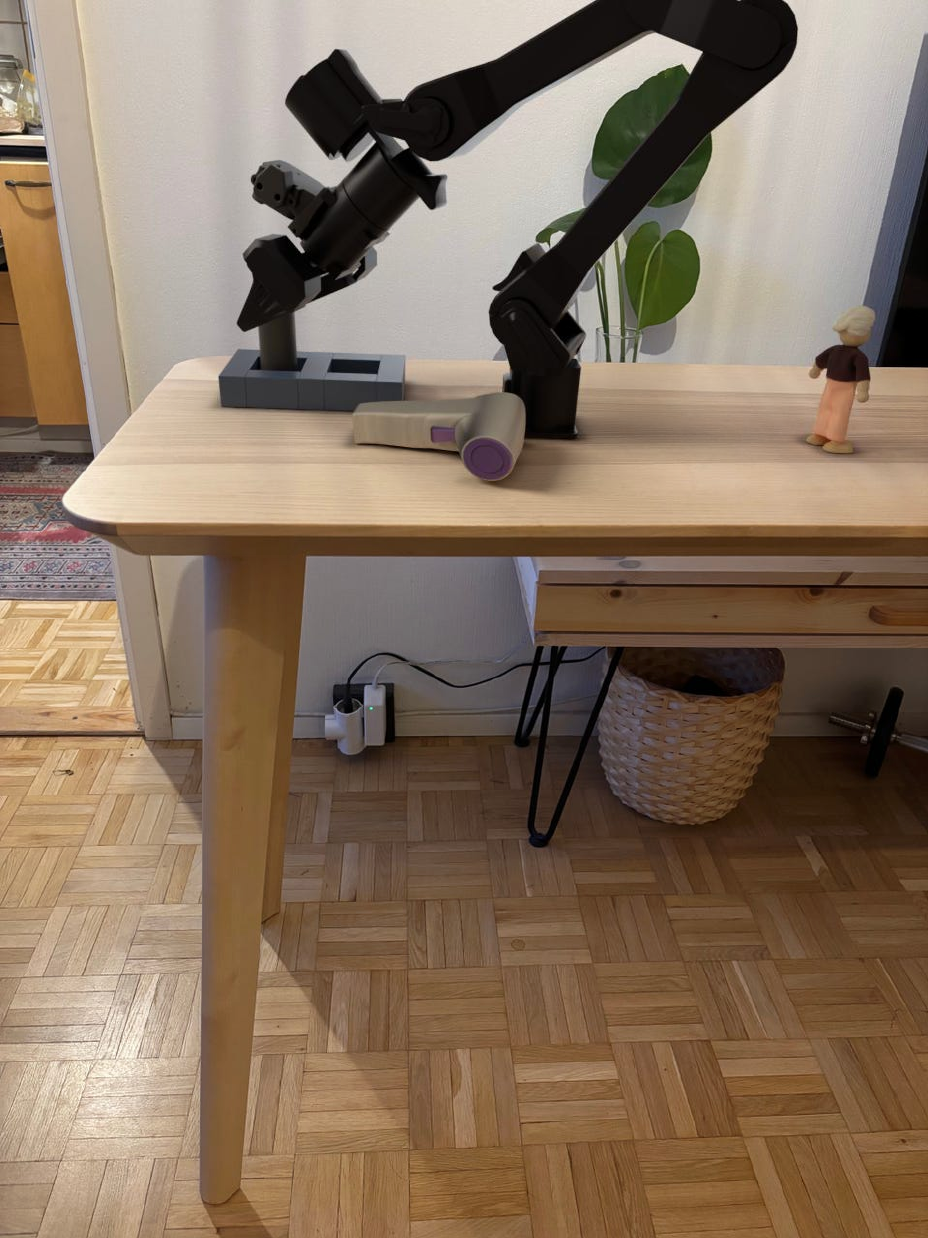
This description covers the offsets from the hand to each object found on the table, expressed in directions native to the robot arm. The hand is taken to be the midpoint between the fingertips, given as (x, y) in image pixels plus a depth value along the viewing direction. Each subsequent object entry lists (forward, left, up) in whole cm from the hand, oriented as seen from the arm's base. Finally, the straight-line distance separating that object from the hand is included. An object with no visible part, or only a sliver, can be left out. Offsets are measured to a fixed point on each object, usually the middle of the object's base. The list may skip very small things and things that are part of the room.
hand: (262, 317), depth 90 cm
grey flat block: (-5, 0, -7) cm, 9 cm away
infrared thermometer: (-17, +17, -7) cm, 26 cm away
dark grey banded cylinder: (-1, 0, -7) cm, 7 cm away
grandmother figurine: (-54, +10, -7) cm, 56 cm away
